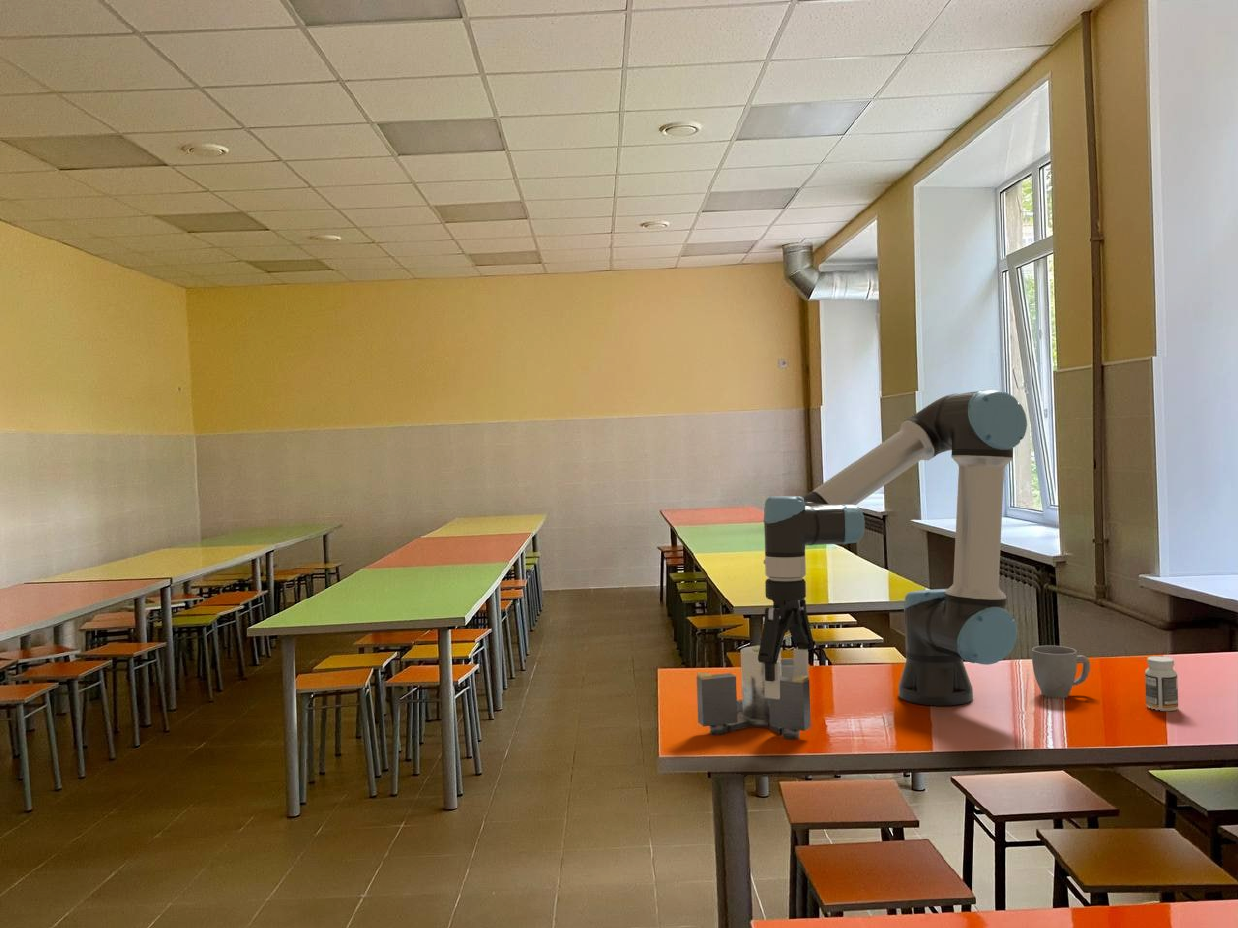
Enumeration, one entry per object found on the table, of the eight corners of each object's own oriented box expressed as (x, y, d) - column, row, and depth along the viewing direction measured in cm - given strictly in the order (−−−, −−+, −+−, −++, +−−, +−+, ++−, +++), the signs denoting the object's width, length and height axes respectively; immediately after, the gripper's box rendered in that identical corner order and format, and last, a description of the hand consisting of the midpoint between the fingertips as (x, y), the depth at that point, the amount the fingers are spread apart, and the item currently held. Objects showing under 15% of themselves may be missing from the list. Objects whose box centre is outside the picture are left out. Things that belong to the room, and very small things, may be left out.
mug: (1045, 701, 205) (1043, 655, 205) (1025, 690, 214) (1024, 646, 214) (1101, 698, 206) (1100, 652, 205) (1079, 688, 214) (1078, 643, 214)
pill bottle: (1177, 705, 198) (1175, 656, 198) (1179, 713, 193) (1178, 662, 193) (1144, 703, 201) (1143, 655, 201) (1146, 710, 196) (1145, 661, 195)
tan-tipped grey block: (732, 728, 194) (730, 669, 194) (738, 733, 191) (736, 673, 191) (698, 732, 192) (696, 673, 192) (703, 737, 189) (701, 676, 189)
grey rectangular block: (770, 736, 188) (768, 676, 187) (777, 732, 190) (775, 672, 190) (804, 741, 184) (802, 679, 184) (811, 737, 187) (809, 676, 186)
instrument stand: (800, 713, 203) (798, 641, 203) (790, 735, 188) (787, 658, 188) (736, 710, 207) (734, 639, 207) (720, 731, 192) (718, 655, 192)
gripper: (793, 569, 199) (794, 674, 199) (738, 585, 178) (740, 702, 178) (828, 571, 195) (830, 678, 195) (776, 587, 174) (778, 707, 174)
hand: (787, 690), depth 187 cm, fingers open, 13 cm apart
